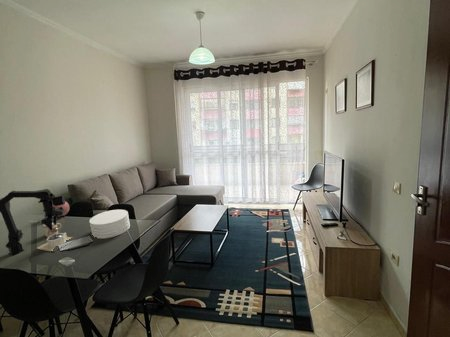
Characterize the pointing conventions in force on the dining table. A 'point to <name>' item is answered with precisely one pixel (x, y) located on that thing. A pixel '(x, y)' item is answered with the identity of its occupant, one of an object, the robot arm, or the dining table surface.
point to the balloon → (65, 207)
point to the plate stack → (109, 223)
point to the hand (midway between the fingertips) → (53, 227)
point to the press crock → (54, 242)
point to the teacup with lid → (47, 230)
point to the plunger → (55, 234)
